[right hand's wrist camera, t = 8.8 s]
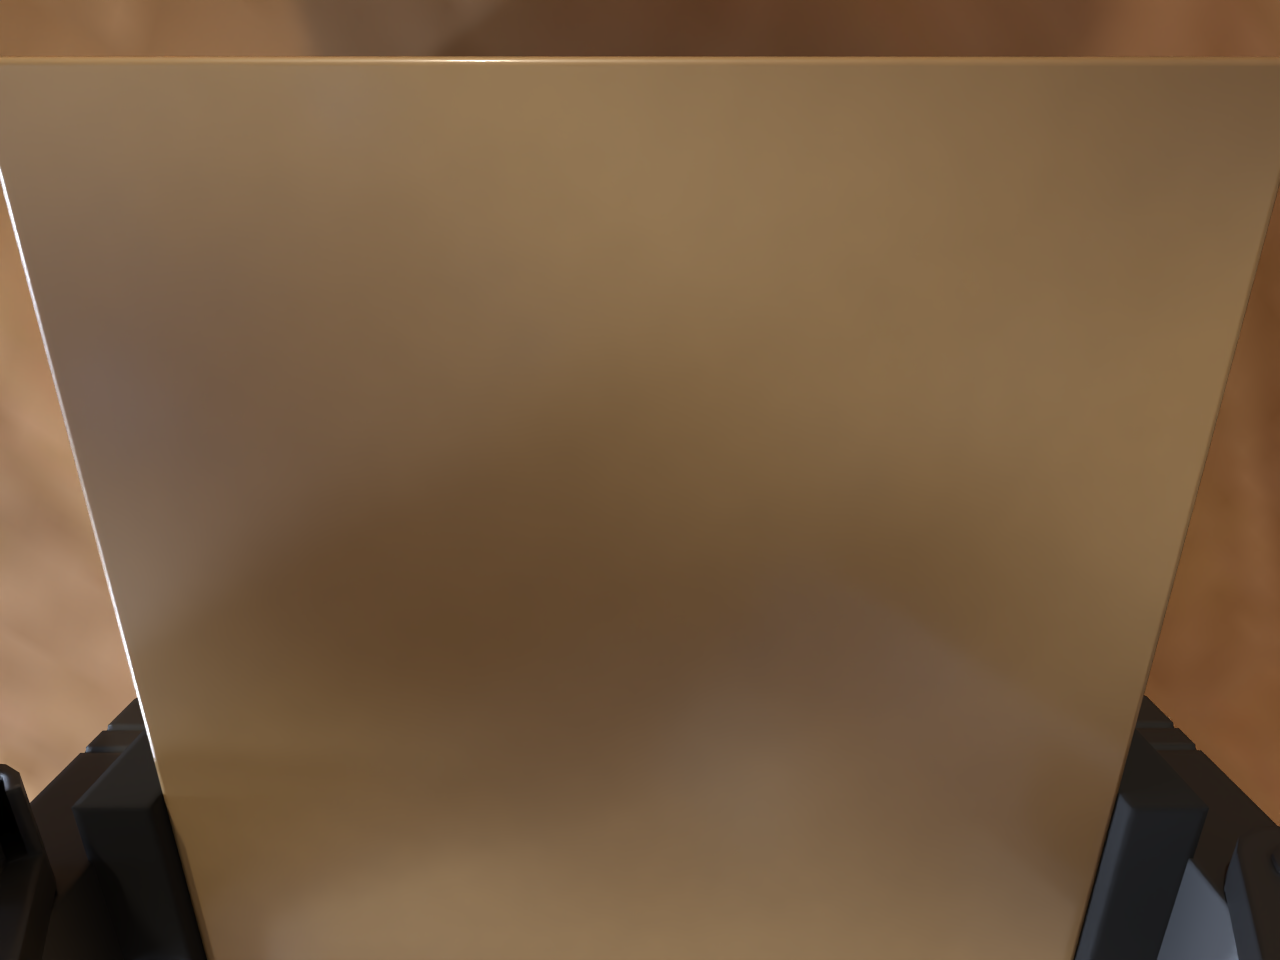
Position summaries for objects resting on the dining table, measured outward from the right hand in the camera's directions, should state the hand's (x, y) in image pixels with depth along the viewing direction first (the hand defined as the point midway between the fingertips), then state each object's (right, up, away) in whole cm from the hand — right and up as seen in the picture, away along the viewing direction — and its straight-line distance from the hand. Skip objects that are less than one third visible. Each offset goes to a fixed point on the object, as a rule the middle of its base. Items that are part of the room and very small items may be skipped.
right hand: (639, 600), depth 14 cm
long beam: (0, -31, +12) cm, 33 cm away
